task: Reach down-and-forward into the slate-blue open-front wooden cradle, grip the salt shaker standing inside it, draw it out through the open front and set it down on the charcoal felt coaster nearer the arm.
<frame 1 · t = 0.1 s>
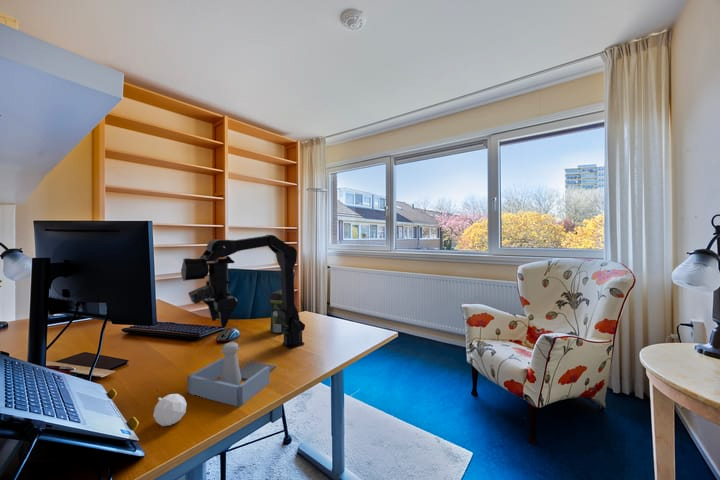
hand: (218, 323, 97), 15 cm above the table, tool pointing down, fingers open, 9 cm apart
ornament: (170, 423, 70), on the table
salt shaker: (230, 388, 85), on the table
coffee jar: (280, 330, 133), on the table
cradle: (230, 387, 85), on the table
coaster: (253, 372, 95), on the table
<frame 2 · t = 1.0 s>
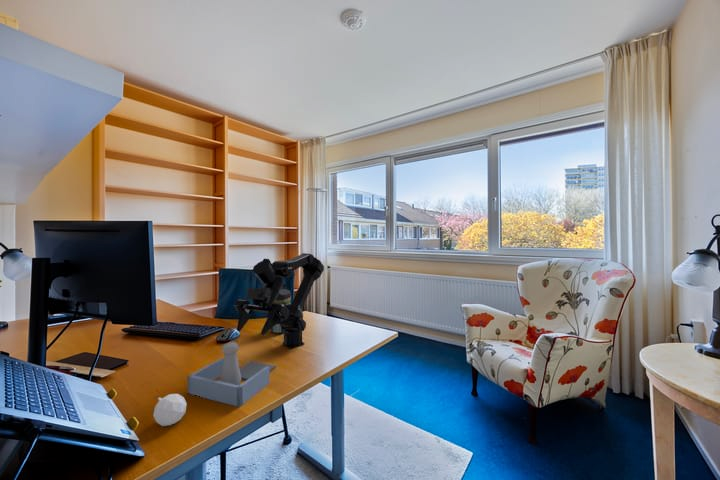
hand: (249, 332, 93), 13 cm above the table, tool tilted 45°, fingers open, 9 cm apart
nothing on the table moved.
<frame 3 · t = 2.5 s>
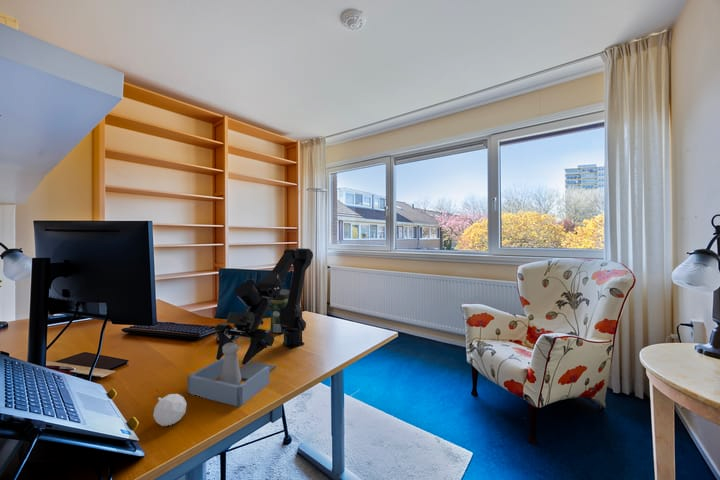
hand: (229, 362, 85), 8 cm above the table, tool tilted 45°, fingers open, 9 cm apart
nothing on the table moved.
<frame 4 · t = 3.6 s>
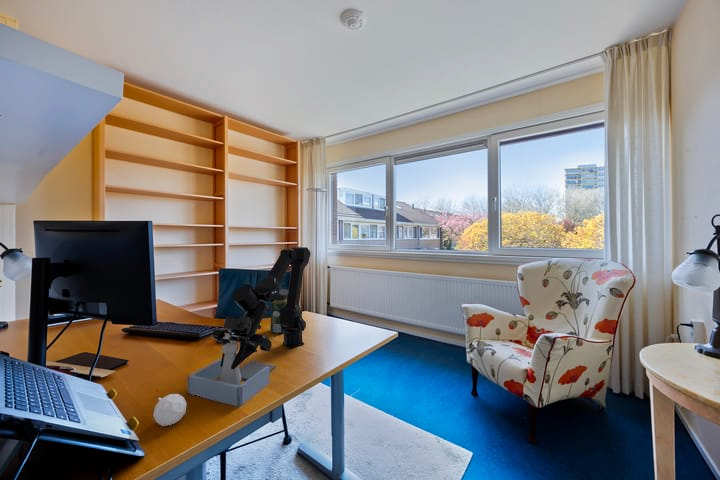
hand: (226, 367, 84), 7 cm above the table, tool tilted 45°, fingers closed on salt shaker, 3 cm apart
salt shaker: (230, 388, 85), on the table, touching gripper
everything else where it was.
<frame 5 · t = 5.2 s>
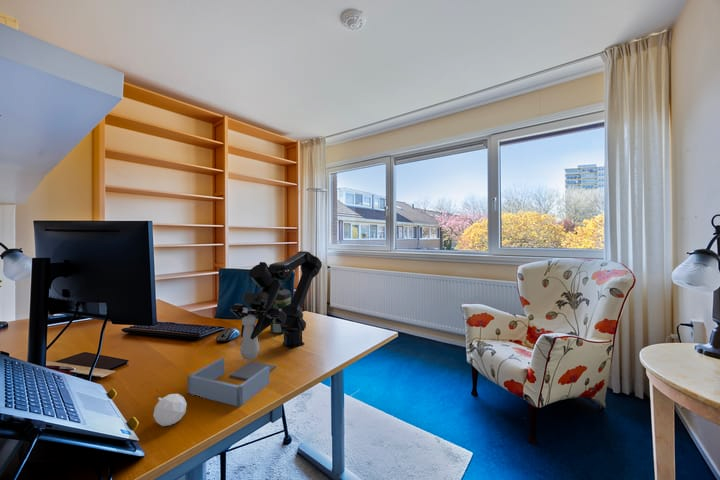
hand: (246, 338, 91), 12 cm above the table, tool tilted 45°, fingers closed on salt shaker, 3 cm apart
salt shaker: (250, 357, 93), point 6 cm above the table, touching gripper
everything else where it was.
when the fingers open (7 cm above the table, at t = 6.6 s): salt shaker stays where it is, resting on coaster.
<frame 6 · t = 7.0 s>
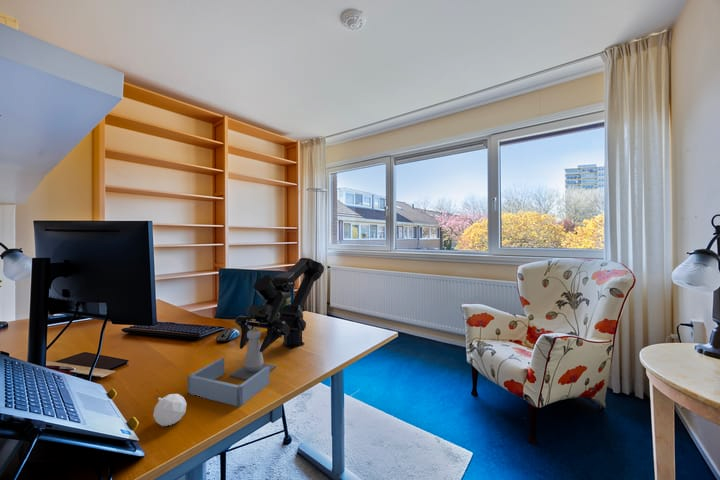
hand: (250, 350, 93), 8 cm above the table, tool tilted 45°, fingers open, 7 cm apart
salt shaker: (254, 370, 95), resting on coaster
everything else where it was.
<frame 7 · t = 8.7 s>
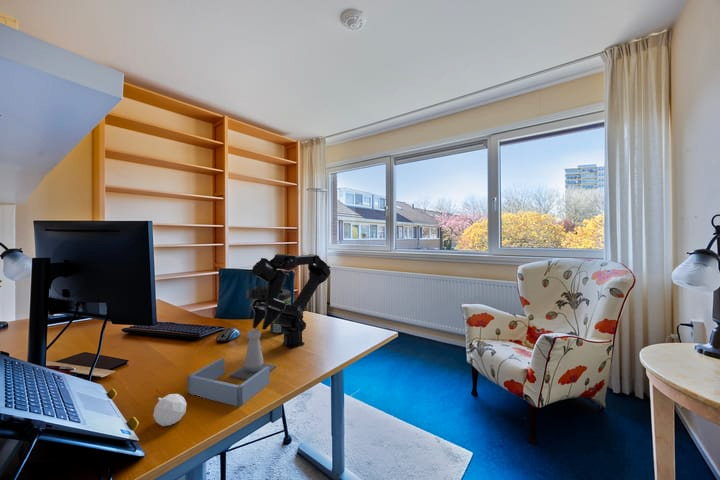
hand: (258, 328, 101), 12 cm above the table, tool tilted 30°, fingers open, 9 cm apart
nothing on the table moved.
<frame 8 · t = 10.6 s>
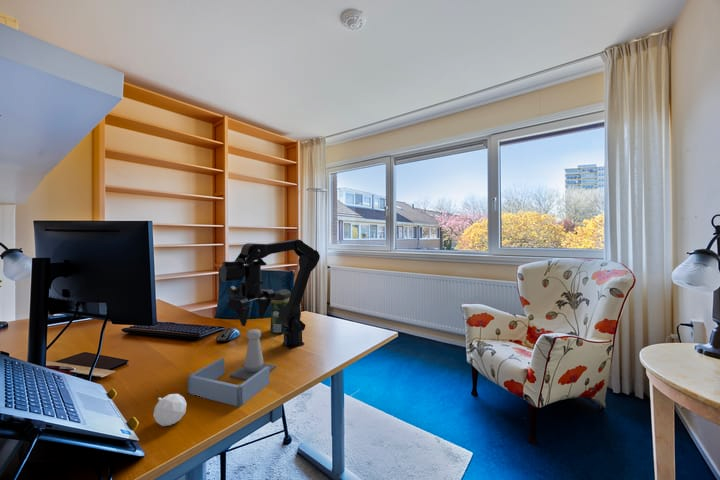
hand: (252, 322, 105), 13 cm above the table, tool pointing down, fingers open, 9 cm apart
nothing on the table moved.
at the end: salt shaker 0.2 cm from the coaster (horizontally); salt shaker tilted 0°; the gripper is holding nothing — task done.
